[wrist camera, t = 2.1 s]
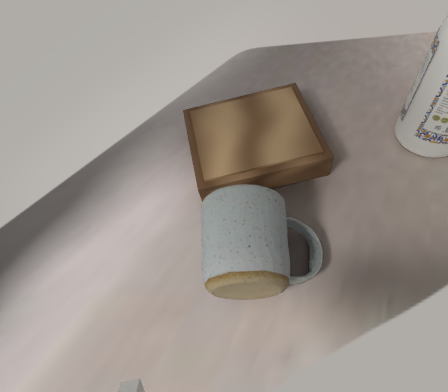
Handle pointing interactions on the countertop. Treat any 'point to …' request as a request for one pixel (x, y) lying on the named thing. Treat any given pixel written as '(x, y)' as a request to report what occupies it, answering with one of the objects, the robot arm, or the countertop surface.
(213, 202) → the ceramic mug
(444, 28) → the bath foam
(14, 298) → the countertop surface
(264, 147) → the walnut base
